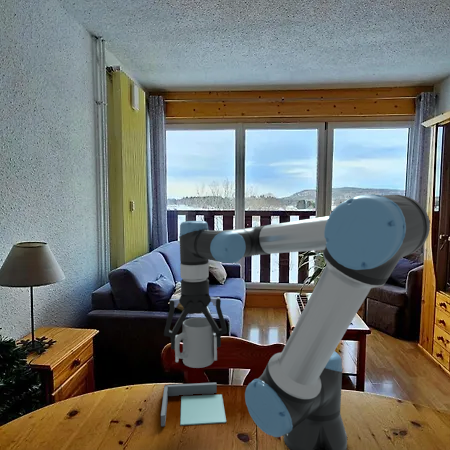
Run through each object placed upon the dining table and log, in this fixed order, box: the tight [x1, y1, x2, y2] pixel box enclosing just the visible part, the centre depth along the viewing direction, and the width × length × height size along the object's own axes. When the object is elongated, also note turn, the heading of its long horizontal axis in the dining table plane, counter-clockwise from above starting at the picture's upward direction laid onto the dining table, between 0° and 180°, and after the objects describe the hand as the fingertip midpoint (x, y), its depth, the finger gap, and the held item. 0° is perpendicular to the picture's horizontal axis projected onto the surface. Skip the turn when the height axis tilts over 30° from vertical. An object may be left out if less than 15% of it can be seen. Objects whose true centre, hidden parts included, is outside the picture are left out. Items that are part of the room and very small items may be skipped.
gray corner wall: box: [160, 382, 218, 427], centre depth 104 cm, size 16×15×3 cm
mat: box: [180, 393, 227, 426], centre depth 103 cm, size 12×13×1 cm
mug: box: [174, 317, 215, 369], centre depth 101 cm, size 12×8×11 cm
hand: (196, 359), depth 101 cm, fingers closed on mug, 10 cm apart
